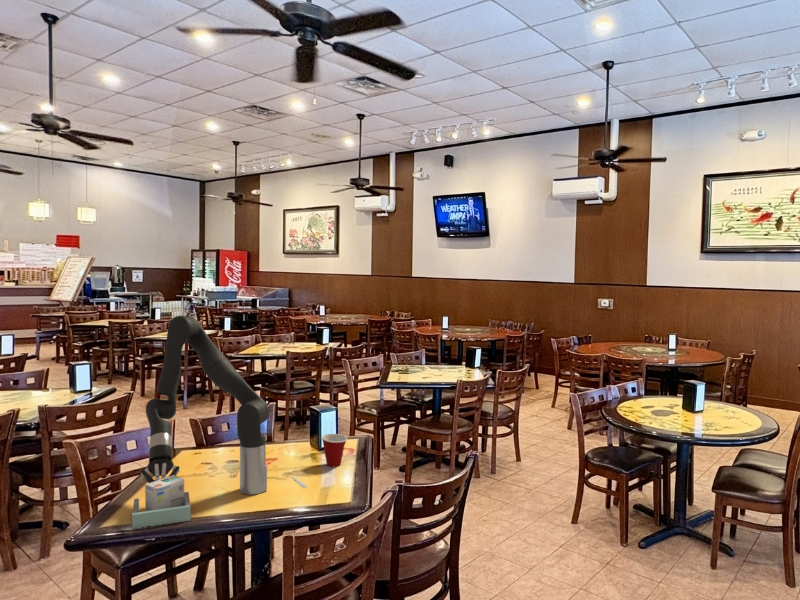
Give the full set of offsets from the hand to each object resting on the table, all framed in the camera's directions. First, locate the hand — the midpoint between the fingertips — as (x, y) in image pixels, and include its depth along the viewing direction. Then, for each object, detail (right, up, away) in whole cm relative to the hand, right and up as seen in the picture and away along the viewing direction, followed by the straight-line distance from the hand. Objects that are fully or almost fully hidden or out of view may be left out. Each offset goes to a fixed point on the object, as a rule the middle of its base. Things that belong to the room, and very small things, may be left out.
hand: (160, 495), depth 189 cm
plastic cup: (+54, -4, +46) cm, 71 cm away
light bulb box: (+3, -5, -3) cm, 7 cm away
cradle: (+3, -5, -5) cm, 7 cm away
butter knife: (+38, -4, +32) cm, 50 cm away
